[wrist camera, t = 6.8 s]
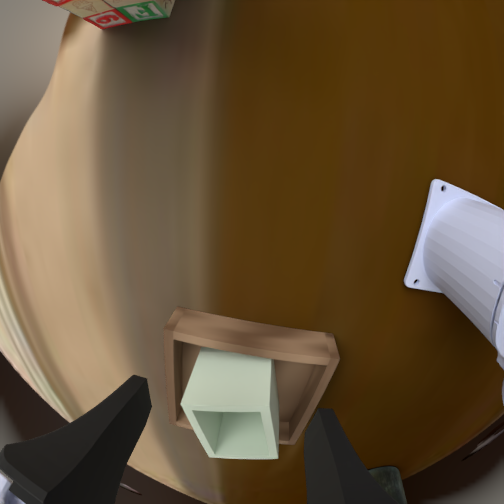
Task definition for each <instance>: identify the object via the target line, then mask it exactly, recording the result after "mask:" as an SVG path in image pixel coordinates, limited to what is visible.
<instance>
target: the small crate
mask: <svg viewBox="0 0 504 504" xmlns="http://www.w3.org/2000/svg"><path fill="white" fill-rule="evenodd" d="M181 406H182V408H183V410H184V412H185V414H186V416H187V418H188V420H189V422H190V424H191V426H192V427H193V429H194V431H195V433H196V435H197V437H198V438H199V440H200V442H201V444H202V445H203V447H204V449H205V451H206V452H207V454H208V456H209V457H215V458H231V459H278V447H279V398H278V390H277V382H276V374H275V365H274V359H269V358H263V357H257V356H251V355H245V354H239V353H234V352H229V351H224V350H219V349H214V348H209V347H201V350H200V352H199V355H198V358H197V360H196V363H195V366H194V368H193V371H192V374H191V376H190V379H189V382H188V384H187V387H186V390H185V393H184V395H183V398H182V401H181Z"/></svg>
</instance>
